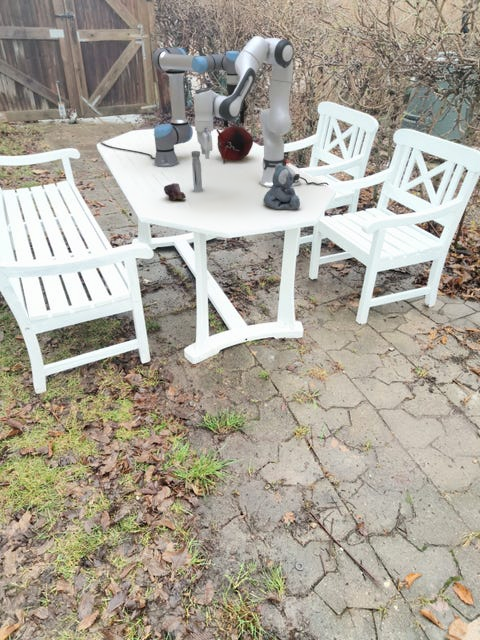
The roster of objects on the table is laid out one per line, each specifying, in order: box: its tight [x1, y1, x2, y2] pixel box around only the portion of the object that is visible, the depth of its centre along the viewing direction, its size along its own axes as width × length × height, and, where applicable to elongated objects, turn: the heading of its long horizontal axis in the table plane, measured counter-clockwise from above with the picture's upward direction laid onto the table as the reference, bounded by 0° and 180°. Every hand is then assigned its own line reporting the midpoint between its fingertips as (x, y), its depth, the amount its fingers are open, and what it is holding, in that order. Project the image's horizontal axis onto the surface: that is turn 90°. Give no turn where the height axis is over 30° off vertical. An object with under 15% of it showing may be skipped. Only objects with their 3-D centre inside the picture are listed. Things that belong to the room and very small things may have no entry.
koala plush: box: [262, 164, 301, 211], centre depth 224 cm, size 17×18×20 cm
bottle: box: [191, 157, 203, 193], centre depth 244 cm, size 5×5×20 cm
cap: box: [190, 150, 201, 158], centre depth 239 cm, size 5×4×2 cm
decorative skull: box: [216, 125, 254, 164], centre depth 298 cm, size 21×24×25 cm
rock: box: [163, 182, 187, 201], centre depth 236 cm, size 12×9×10 cm
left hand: (234, 125), depth 259 cm, fingers open, 13 cm apart
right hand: (205, 156), depth 222 cm, fingers open, 8 cm apart
